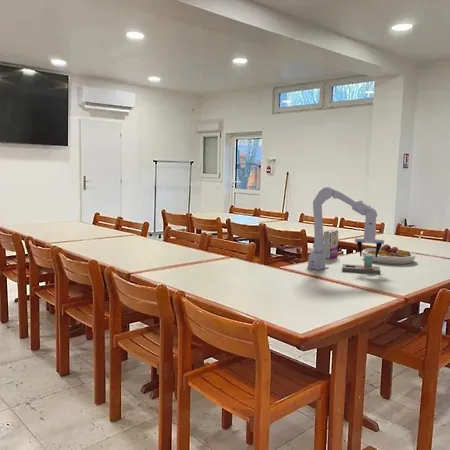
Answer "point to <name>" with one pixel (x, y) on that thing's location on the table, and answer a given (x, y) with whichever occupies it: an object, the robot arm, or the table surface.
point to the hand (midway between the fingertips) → (368, 256)
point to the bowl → (390, 255)
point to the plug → (368, 261)
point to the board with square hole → (360, 269)
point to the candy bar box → (331, 243)
